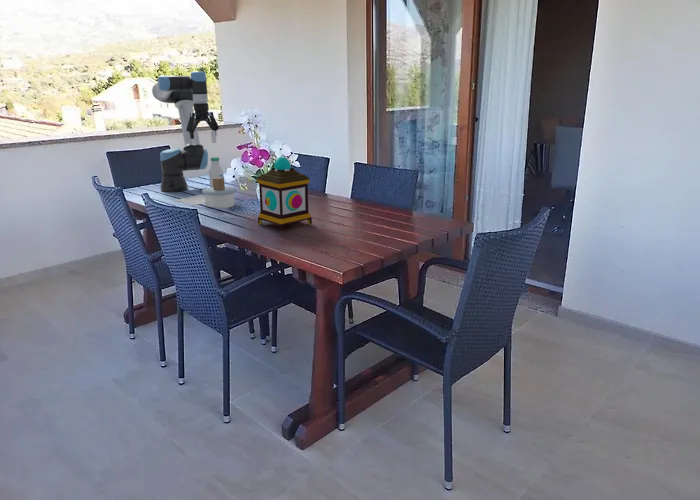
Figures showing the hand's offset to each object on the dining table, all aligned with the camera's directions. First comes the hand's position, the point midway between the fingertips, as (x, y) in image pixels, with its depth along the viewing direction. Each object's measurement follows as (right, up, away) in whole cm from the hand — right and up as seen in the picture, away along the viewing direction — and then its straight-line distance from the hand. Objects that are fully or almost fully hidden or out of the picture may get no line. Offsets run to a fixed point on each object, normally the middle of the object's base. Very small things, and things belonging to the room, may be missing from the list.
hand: (204, 144), depth 270 cm
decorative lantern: (+49, -46, -46) cm, 81 cm away
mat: (-3, -30, 0) cm, 31 cm away
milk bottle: (+2, -24, +19) cm, 31 cm away
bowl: (+11, -34, -11) cm, 37 cm away
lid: (+11, -27, -13) cm, 32 cm away
